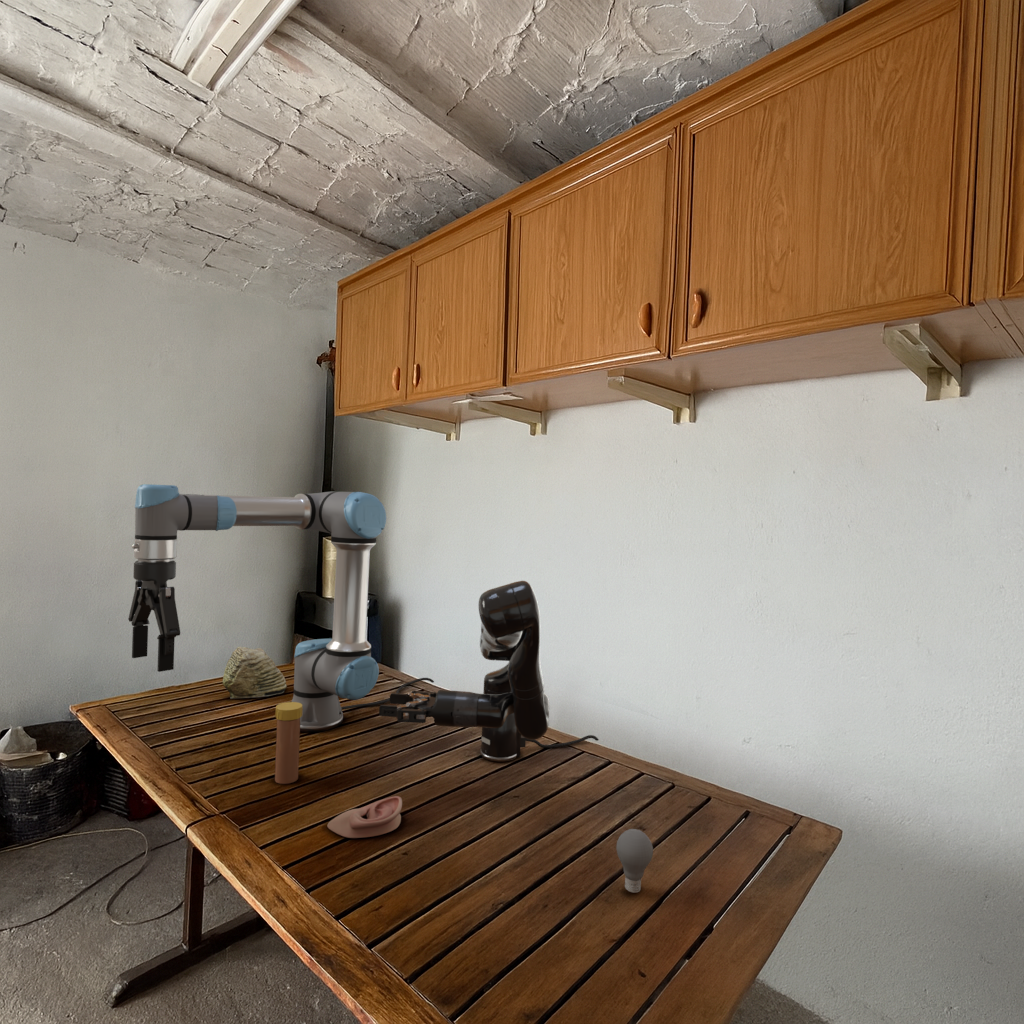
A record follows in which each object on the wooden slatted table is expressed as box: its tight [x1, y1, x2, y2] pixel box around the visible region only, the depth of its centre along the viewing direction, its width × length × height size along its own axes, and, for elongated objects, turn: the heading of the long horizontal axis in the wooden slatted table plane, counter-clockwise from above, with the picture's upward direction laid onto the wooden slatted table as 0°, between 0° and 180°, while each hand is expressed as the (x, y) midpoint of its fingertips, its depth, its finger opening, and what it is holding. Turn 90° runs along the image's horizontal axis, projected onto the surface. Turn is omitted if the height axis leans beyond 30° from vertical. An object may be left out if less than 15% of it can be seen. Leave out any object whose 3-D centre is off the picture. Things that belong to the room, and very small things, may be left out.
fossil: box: [222, 646, 288, 699], centre depth 198 cm, size 9×18×15 cm, turn 132°
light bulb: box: [615, 828, 654, 894], centre depth 106 cm, size 6×6×10 cm
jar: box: [274, 718, 301, 785], centre depth 141 cm, size 5×5×16 cm
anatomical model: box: [327, 795, 403, 839], centre depth 123 cm, size 13×4×12 cm
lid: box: [274, 701, 303, 721], centre depth 141 cm, size 6×6×2 cm
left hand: (152, 663), depth 130 cm, fingers open, 13 cm apart
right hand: (385, 704), depth 140 cm, fingers open, 8 cm apart
